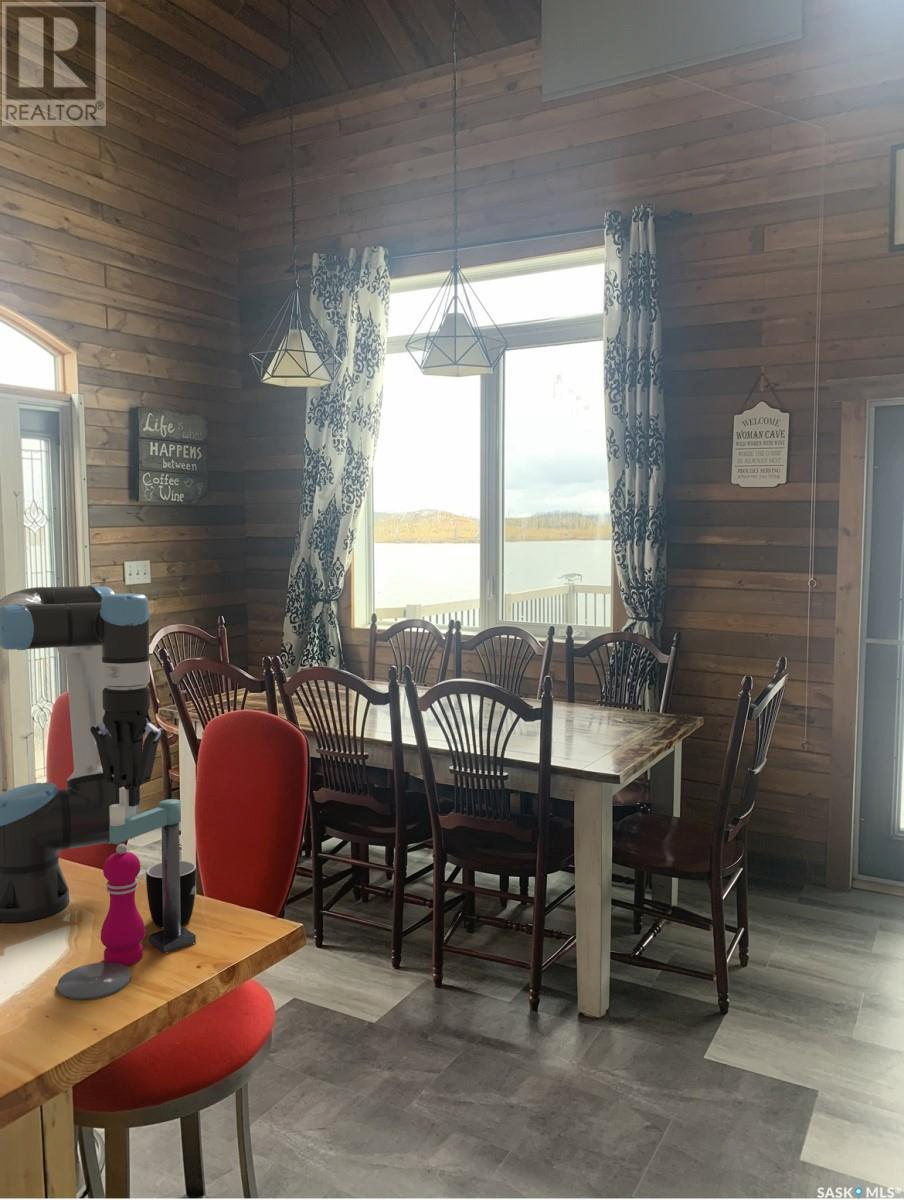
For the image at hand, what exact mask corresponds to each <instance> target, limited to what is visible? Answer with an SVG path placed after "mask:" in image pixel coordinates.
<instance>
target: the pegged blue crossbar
mask: <svg viewBox="0 0 904 1200" xmlns="http://www.w3.org/2000/svg"><path fill="white" fill-rule="evenodd" d="M158 803H159V804H158V807H155V808H151V809H150V810H147V811H144V812H140V813H138V814H137V815H135V816H132V817H130V818H127V819H125V804H113V805H110V806H109V808H110V825H109V832H110V844H114V845H119V844H122V843H123V842H126V841H128V840H131V839H134V838H136V837H139V836H141V835H144V834H147V833H149V832H153V831H155V830H157V829H160V828H161V827H163V826H165V825H172V824H177V823H179V824H180V823H181V822H182V810H181V809H182V808H181V807H182V806H181V805H182V803H181V800H180V799H175V798H174V799H173V798H171V799H170V798H169V799H164V800H161V801H159V802H158Z"/></svg>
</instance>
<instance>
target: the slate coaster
mask: <svg viewBox="0 0 904 1200" xmlns="http://www.w3.org/2000/svg"><path fill="white" fill-rule="evenodd" d="M131 973H132V972H131V969H130V968H129V967H128V965H127V966H125V965H123V964H119V963H113V962H94V963H88V964H85V965H82V966H81V965H80V966H77V967H75V968H73V969H70V970H69V971H67V972H65V973H64V974H63V975H62V976H61V977H60V978H58V979H59V980H58V982H57V992H58V994H59V995H61V997H63V998H67V999H69V998H71V999H70V1000H76V999H77V1000H78V999H79V1000H80V1001H81V999H82V1000H83V999H87V1000H93V999H94V998H95V999H99V998H98V997H100V998H104V997H107V996H110V995H112V994H115V993H117V992H119V991H121V990H122V989H124V988H125V987H126V986H127V985H128V984H129V983H130V981H131V977H132V976H131ZM103 996H104V997H103ZM79 1000H78V1001H79ZM83 1001H84V1000H83Z"/></svg>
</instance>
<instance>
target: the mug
mask: <svg viewBox="0 0 904 1200" xmlns="http://www.w3.org/2000/svg"><path fill="white" fill-rule="evenodd" d="M145 878H146V879H145V881H146V882H145V883H146V893H147V901H148V908H149V913H150V916H151V920H152V922H153V923H154V925H155V926H156V927H158V928H161V927H163V892H162V862H158V863H155V864H153V865H151V866H149V867H148V868H147V870H146V871H145ZM196 887H197V865H196V864H194V863H193V862H190V861H188V860H180V912H181V925H182V926H185V925H186V924H187V923H189V921H190V920H191V918H192V915H193V911H194V907H195V906H194V905H195V898H196V897H195V896H196Z"/></svg>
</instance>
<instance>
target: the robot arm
mask: <svg viewBox="0 0 904 1200" xmlns="http://www.w3.org/2000/svg"><path fill="white" fill-rule="evenodd" d="M150 617H151V613H150V609H149V599H148V597H147V595H145V594H142V593H126V592H125V593H115V591H114V590H113V589H111V588H110V587H108V586H99V585H98V586H97V585H96V586H95V585H90V584H89V585H86V586H85V585H84V586H83V585H81V586H80V585H79V586H48V587H47V586H46V587H44V586H37V587H30V588H24V589H20V590H17V591H14V592H12V593H9V594H7V595H5V596H4V597H2V598H1V599H0V648H2V649H3V650H9V651H10V650H11V651H12V650H17V651H26V650H36V649H37V650H38V649H51V648H52V649H53V648H56V650H57V652H58V653H59V654H60V655H62V656H63V657H64V658H65V663H66V665H65V666H66V676H67V689H68V705H69V716H70V729H71V730H70V731H71V732H70V734H71V744H72V745H71V746H72V758H73V772H72V773H71V774H70V776H68V777H67V779H66V788H65V789H59V788H58V786H57V785H56V784H55V783H53V782H48V781H47V782H35V783H30V784H29V783H28V784H25V785H21V786H17V787H14V788H11V789H8V790H5V791H4V792H3V793H1V794H0V921H5V922H4V923H21V922H28V921H34V920H39V919H43V918H46V917H48V916H51V915H54V914H57V913H58V912H60V911H62V910H64V909H65V908H66V907H67V906H68V905H69V903H70V889H69V886H68V884H67V881H66V878H65V876H64V873H63V870H62V868H61V865H60V861H59V851H62V850H63V851H64V850H70V849H76V848H83V847H89V846H98V845H102V844H106V845H108V844H111V843H110V832H109V825H110V808H109V806H110V805H113V804H125V819H127V818H130V817H132V816H135V815H138V814H139V812H138V811H139V804H140V803H141V795H140V794H141V793H140V792H141V790H140V789H141V786H142V785H144V784H147V783H149V782H150V781H151V778H152V773H153V769H154V765H155V760H156V755H157V751H158V745H159V741H160V740H161V738H162V737H163V735H164V732H165V730H164V729H163V728H162V727H159V728H157V727H156V726H155V725H154V724H152V718H151V716H150V713H149V709H150V706H151V688H150V687H149V686H148V684H149V683H150V682H151V668H150V667H151V664H150ZM143 737H144V738H145V739H144V738H143ZM143 741H144V742H143Z"/></svg>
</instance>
